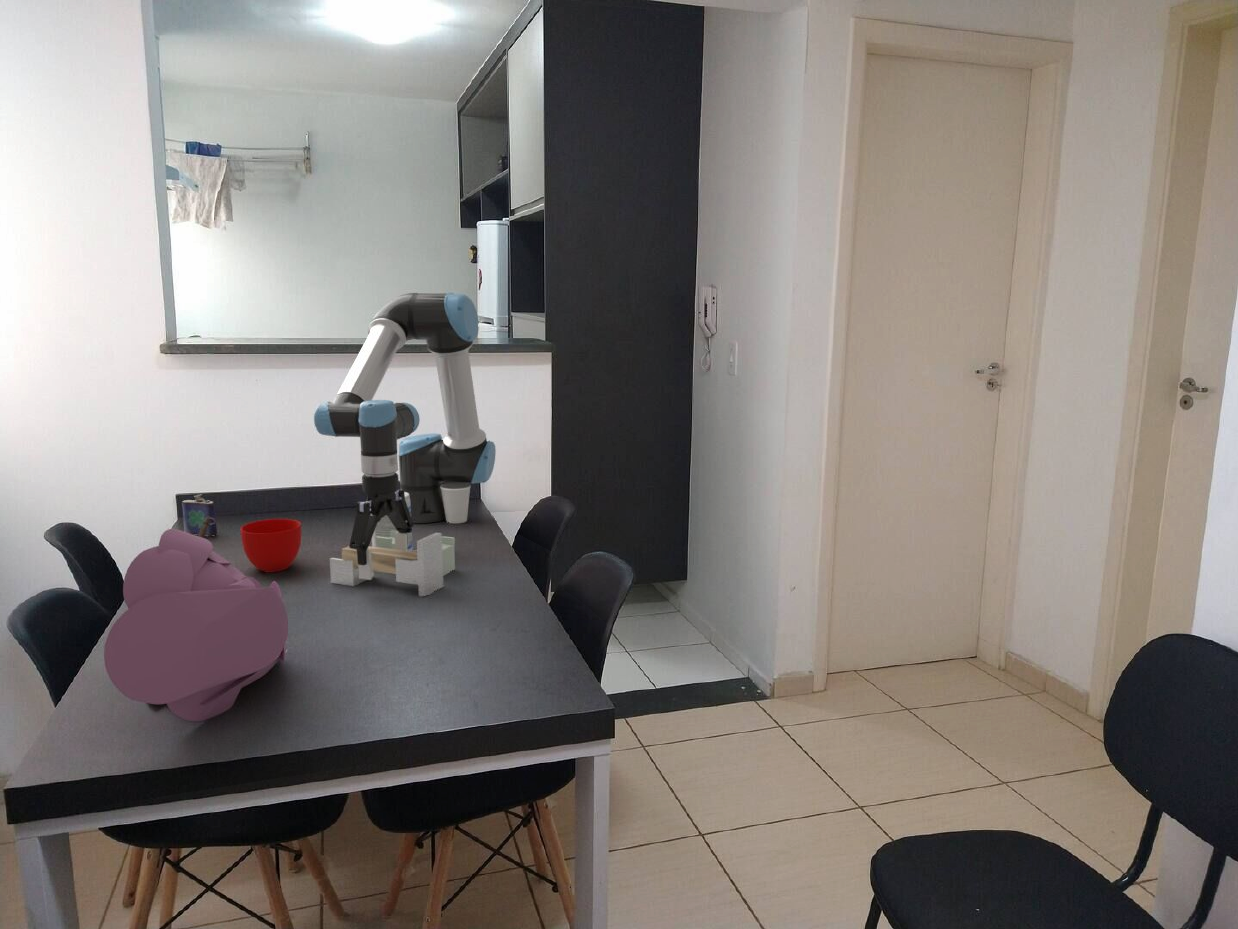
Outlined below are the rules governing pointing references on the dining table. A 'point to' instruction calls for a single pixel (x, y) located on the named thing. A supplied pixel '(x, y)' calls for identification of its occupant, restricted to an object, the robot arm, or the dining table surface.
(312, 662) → the dining table surface
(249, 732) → the dining table surface
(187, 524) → the flask
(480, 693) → the dining table surface
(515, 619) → the dining table surface
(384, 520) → the supplement tub
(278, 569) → the ceramic cup
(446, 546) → the rack
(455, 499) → the dixie cup
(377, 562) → the rail
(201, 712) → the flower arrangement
